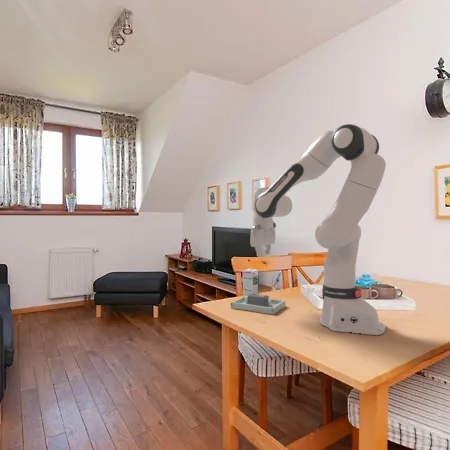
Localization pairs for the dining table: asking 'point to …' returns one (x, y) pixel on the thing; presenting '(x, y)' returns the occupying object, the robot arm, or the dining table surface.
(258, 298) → the grey rectangular block
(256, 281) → the syrup box
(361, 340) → the dining table surface
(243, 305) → the tray
